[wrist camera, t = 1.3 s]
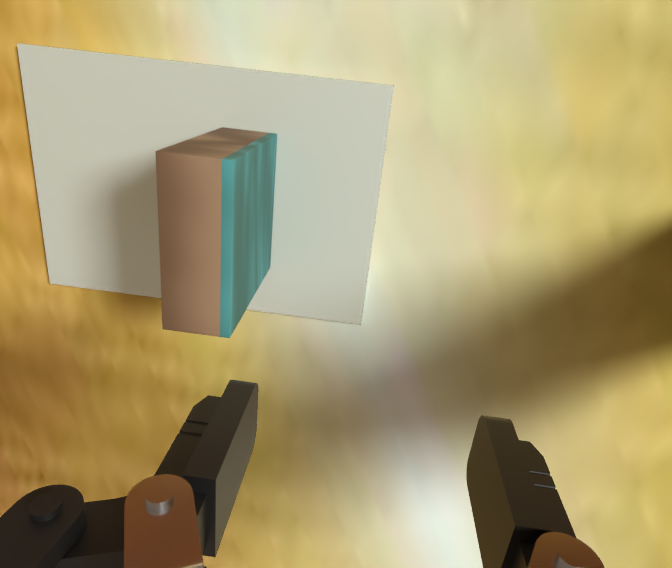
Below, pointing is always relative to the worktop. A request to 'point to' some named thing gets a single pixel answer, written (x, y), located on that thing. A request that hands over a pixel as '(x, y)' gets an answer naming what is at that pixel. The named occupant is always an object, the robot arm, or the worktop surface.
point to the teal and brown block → (214, 227)
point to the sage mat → (188, 122)
